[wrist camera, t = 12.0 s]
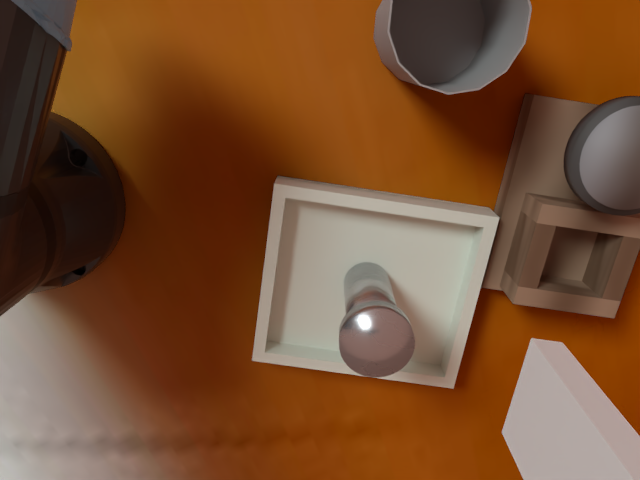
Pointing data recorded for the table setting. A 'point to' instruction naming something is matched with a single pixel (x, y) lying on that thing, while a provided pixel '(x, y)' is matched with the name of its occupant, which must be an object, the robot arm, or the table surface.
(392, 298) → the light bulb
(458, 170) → the table surface
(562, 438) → the robot arm
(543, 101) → the block
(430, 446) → the table surface
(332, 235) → the tray
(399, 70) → the cup
